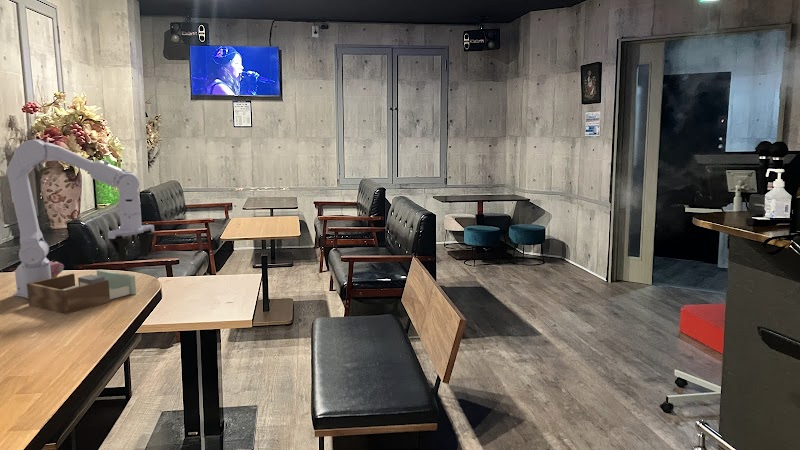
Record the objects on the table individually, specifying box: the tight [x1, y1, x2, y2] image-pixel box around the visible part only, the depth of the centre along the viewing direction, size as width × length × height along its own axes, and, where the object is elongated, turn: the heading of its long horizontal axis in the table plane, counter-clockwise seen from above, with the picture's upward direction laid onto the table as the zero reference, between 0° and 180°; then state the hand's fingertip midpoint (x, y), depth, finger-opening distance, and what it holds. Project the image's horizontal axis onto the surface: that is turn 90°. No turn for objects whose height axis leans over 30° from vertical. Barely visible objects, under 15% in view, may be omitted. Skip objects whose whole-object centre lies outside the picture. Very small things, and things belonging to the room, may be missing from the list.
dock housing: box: [27, 273, 111, 315], centre depth 172 cm, size 16×13×6 cm
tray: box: [61, 269, 137, 300], centre depth 179 cm, size 15×14×5 cm
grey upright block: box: [77, 274, 105, 287], centre depth 177 cm, size 4×6×5 cm
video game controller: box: [50, 261, 65, 278], centre depth 197 cm, size 10×5×7 cm, turn 169°
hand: (133, 258), depth 189 cm, fingers open, 7 cm apart
